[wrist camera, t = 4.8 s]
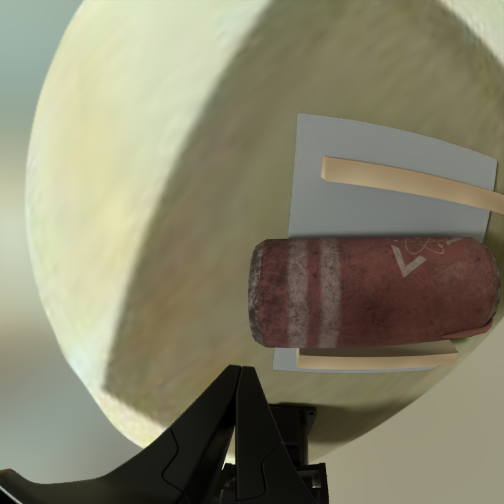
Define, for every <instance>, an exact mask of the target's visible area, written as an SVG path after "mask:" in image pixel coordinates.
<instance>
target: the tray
mask: <svg viewBox="0 0 504 504" xmlns="http://www.w3.org/2000/svg"><path fill="white" fill-rule="evenodd" d="M496 167H497V160H496V159H494V158H491V157H489V156H486V155H483V154H481V153H478V152H475V151H472V150H469V149H467V148H464V147H461V146H458V145H454V144H451V143H448V142H445V141H441V140H438V139H435V138H431V137H427V136H424V135H420V134H416V133H412V132H408V131H404V130H400V129H395V128H391V127H386V126H381V125H376V124H371V123H366V122H360V121H354V120H348V119H341V118H335V117H327V116H319V115H311V114H301V113H298V117H297V133H296V148H295V162H294V175H293V188H292V200H291V211H290V222H289V232H288V239H312V238H390V237H472V238H474V239H475V240H477V241H478V242H480V243H482V244H483V240H484V236H485V232H486V227H487V223H488V218H489V213H490V211H494V212H497V213H501V214H504V195H502V194H500V193H497V192H494V191H493V190H494V184H495V176H496ZM457 355H458V351H457V350H456V348H455V347H454V345H453V344H452V342H451V341H450V340H443V341H435V342H426V343H416V344H405V345H392V346H376V347H355V348H275V353H274V361H273V370H286V371H302V372H328V373H375V372H400V371H416V370H428V369H434V367H435V366H440V365H450V364H453V362H454V360H455V358H456V357H457Z"/></svg>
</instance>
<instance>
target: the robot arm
mask: <svg viewBox="0 0 504 504" xmlns="http://www.w3.org/2000/svg"><path fill="white" fill-rule="evenodd" d="M316 414H317V411H316V408H311V407H287V406H273V405H268V402H267V400H266V397H265V395H264V392H263V389H262V387H261V384H260V381H259V379H258V376H257V373H256V370H255V368H254V367H249V366H242V368H241V366H239V365H228V366H227V367H226V368H225V369H224V371H223V372H222V373H221V374H220V375H219V376H218V377H217V378H216V379H215V380H214V381H213V382H212V383H211V385H210V386H209V387H208V388H207V389H206V390H205V391H204V392H203V393H202V394H201V395H200V396H199V397H198V398H197V399H196V400H195V401H194V402H193V403H192V404H191V405H190V406H189V407H188V408H187V409H186V410H185V411H184V412H183V414H182V415H181V416H180V417H179V418H178V419H177V420H176V421H175V422H174V423H173V424H172V425H170V427H168V428H167V429H166V430H165V431H164V432H163V433H162V434H161V435H160V436H159V437H158V438H157V439H156V440H155V441H153V442H152V443H151V444H150V445H149V446H147V447H146V448H145V449H143V450H142V451H141V452H139V453H138V454H136V455H135V456H134V457H132V458H131V459H129V460H128V461H126V462H125V463H123V464H122V465H120V466H119V467H117V468H116V469H115V470H113V471H112V472H110V473H108V474H106V475H104V476H101V477H98V478H94V479H89V480H82V481H74V482H64V483H53V484H39V483H34V482H31V481H29V480H27V479H25V478H23V477H22V476H21V475H20V474H18V473H17V472H16V471H14V470H12V469H4V470H0V486H1V487H2V488H4V489H5V490H6V491H7V492H8V493H10V494H11V495H12V496H13V497H15V498H16V499H17V500H18V501H20V502H21V503H22V504H329V494H328V484H327V475H326V465H325V463H319V464H313V465H308V435H309V432H310V430H311V427H312V425H313V422H314V419H315V417H316ZM234 427H235V465H234V464H232V463H225V465H224V468H223V470H222V467H223V464H224V461H225V457H226V454H227V451H228V448H229V444H230V441H231V438H232V434H233V431H234ZM313 486H316V488H313ZM0 504H18V503H17V502H16V501H15V500H13V499H12V498H11V497H10V496H9V495H7V494H6V493H5V492H4V491H3V490H1V489H0Z"/></svg>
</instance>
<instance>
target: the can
mask: <svg viewBox="0 0 504 504" xmlns="http://www.w3.org/2000/svg"><path fill="white" fill-rule="evenodd" d="M500 286H501V284H500V275H499V269H498V265H497V262H496V259H495V257H494V255H493V254H492V252H491V251H490V249H489V248H488V247H487V246H485V245H484V244H482V243H480V242H478V241H477V240H475V239H474V238H472V237H390V238H312V239H266V240H265V241H263V242H262V243H260V244H258V245H257V246H256V247H255V249H254V251H253V255H252V259H251V265H250V273H249V288H248V307H249V320H250V328H251V332H252V336H253V338H254V340H255V341H256V342H258V343H259V344H261V345H263V346H264V347H270V348H355V347H376V346H392V345H405V344H416V343H426V342H435V341H443V340H451V339H458V338H466V337H471V336H474V335H478V334H482V333H486V332H487V331H488V330H489V329H490V328H491V326H492V323H493V320H494V319H493V317H494V315H495V313H496V310H497V307H498V303H499V298H500Z"/></svg>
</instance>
